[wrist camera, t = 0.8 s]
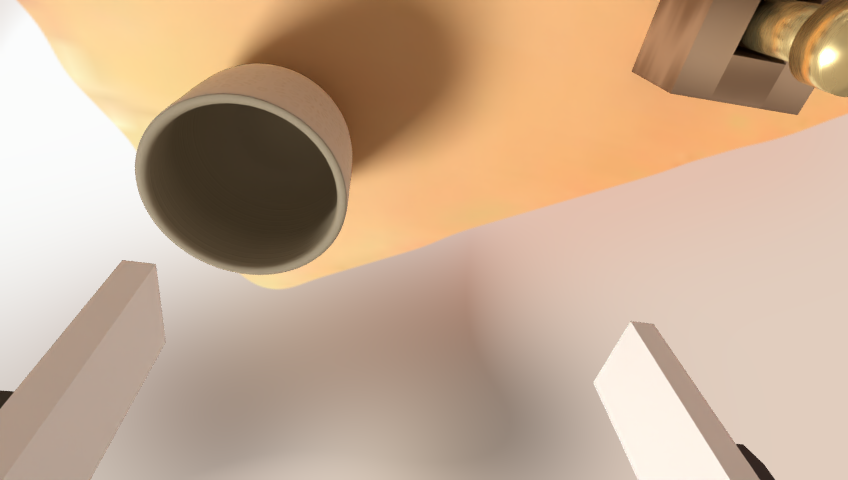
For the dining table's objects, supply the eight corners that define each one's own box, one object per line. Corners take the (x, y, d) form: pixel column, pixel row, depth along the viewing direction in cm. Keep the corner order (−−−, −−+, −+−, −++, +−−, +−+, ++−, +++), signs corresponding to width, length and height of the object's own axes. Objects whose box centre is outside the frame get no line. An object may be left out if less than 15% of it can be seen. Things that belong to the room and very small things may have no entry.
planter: (171, 62, 34) (92, 109, 25) (338, 39, 34) (320, 77, 25) (230, 208, 41) (185, 286, 32) (369, 189, 41) (364, 262, 32)
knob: (739, -26, 30) (863, -11, 22) (803, -12, 31) (945, 7, 23) (702, 51, 32) (802, 89, 25) (762, 63, 33) (877, 103, 25)
